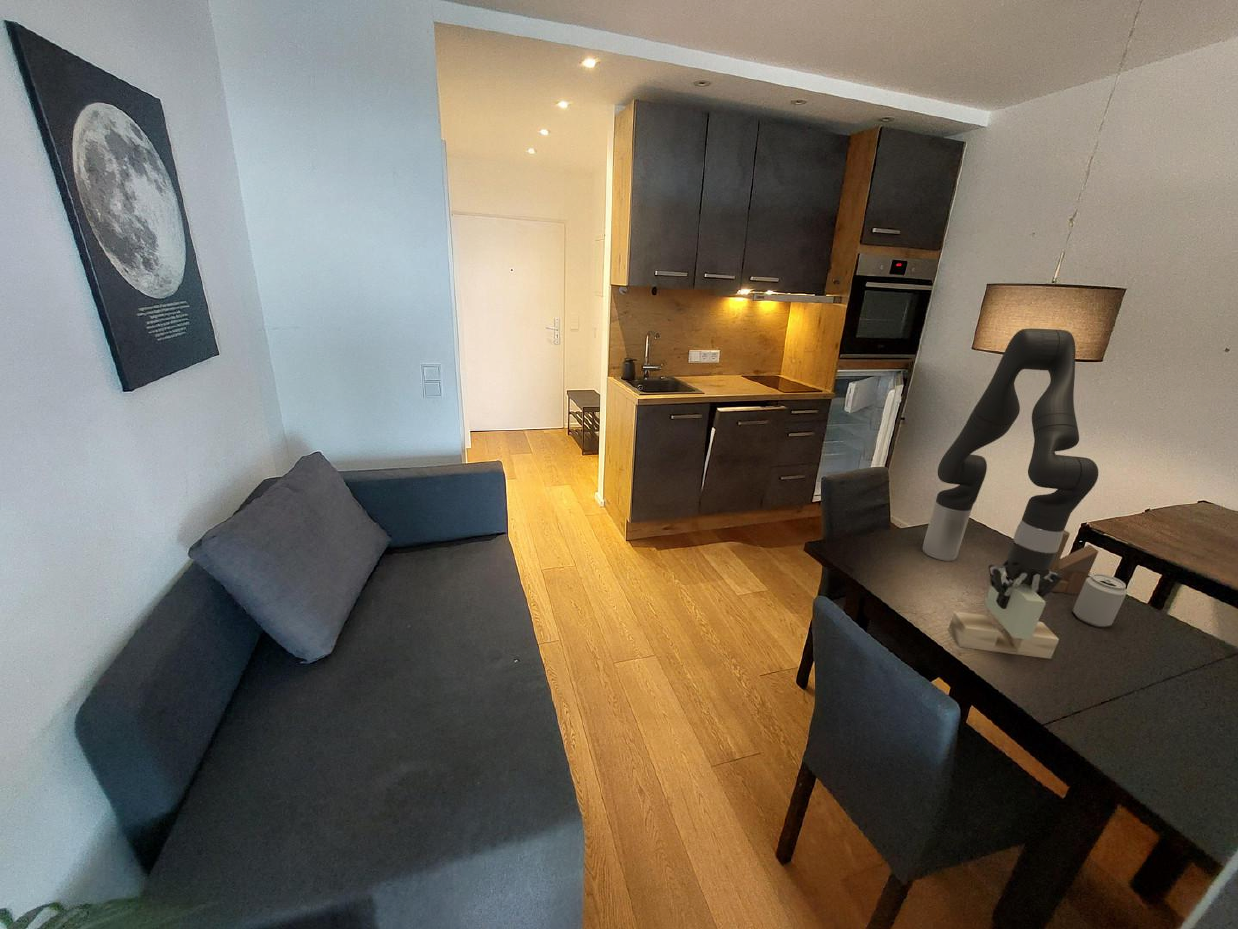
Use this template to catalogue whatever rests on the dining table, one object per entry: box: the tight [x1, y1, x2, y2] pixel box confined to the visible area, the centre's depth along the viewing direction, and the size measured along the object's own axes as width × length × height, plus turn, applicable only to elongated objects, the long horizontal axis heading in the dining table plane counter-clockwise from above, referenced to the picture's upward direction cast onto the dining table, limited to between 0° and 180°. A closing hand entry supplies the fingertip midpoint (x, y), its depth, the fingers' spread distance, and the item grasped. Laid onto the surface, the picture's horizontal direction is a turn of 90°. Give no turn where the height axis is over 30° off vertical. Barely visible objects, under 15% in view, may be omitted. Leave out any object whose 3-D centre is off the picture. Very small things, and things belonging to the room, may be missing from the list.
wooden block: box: [1039, 529, 1099, 596], centre depth 131 cm, size 4×11×18 cm, turn 77°
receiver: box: [947, 611, 1060, 659], centre depth 113 cm, size 6×19×6 cm, turn 80°
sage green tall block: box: [984, 571, 1047, 640], centre depth 109 cm, size 12×4×10 cm, turn 170°
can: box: [1072, 572, 1128, 628], centre depth 120 cm, size 8×8×12 cm
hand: (1011, 607), depth 110 cm, fingers closed on sage green tall block, 3 cm apart
